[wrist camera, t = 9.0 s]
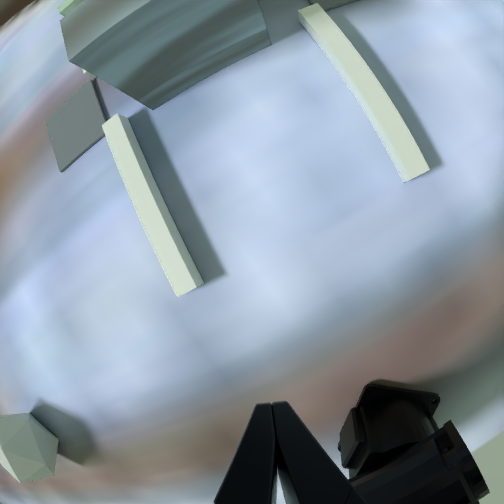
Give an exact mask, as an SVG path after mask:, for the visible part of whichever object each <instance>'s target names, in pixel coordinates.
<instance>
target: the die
mask: <svg viewBox="0 0 504 504" xmlns="http://www.w3.org/2000/svg"><path fill="white" fill-rule="evenodd" d="M58 442H59V439H58V438H57V437H55V436H54V435H53V434H52V433H51V432H50V431H48V430H47V429H46V428H45V427H44V426H43V425H42V424H40V423H39V422H38V421H37V420H36V419H35V418H34V417H33V416H32V415H31V414H30V413H24V414H13V415H0V464H1V465H2V466H3V467H4V468H5V469H6V470H7V471H8V472H9V473H10V474H11V475H12V476H13V477H14V478H16V479H17V480H18V481H19V482H20V483H26V482H30V481H34V480H39V479H43V478H47V477H51V476H54V473H55V464H56V456H57V449H58Z"/></svg>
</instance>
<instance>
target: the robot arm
mask: <svg viewBox="0 0 504 504" xmlns="http://www.w3.org/2000/svg"><path fill="white" fill-rule="evenodd" d="M370 389H373V391H372V392H367V391H368V390H370ZM433 399H435V401H433V402H432V400H433ZM439 402H440V397H439V396H438V394H436V393H428V392H421V391H414V390H407V389H400V388H394V387H388V386H382V385H377V384H367V385H366V386H365V387H364V388H363V391H362V393H361V395H360V398H359V400H358V402H357V405H356V407H354V408H352V409H351V410H350V412H349V414H348V416H347V419H346V421H345V423H344V425H343V427H342V429H341V432H340V441H339V443H338V450H339V451H340V452H341V461H342V466H343V468H346V469H349V480H348V479H347V478H346V477H345V476H344V474H343V473H342V472H341V471H340V469H339V468H338V467H337V466H336V464H335V463H334V462H333V461H332V459H331V458H330V457H329V456H328V454H327V453H326V452H325V450H324V449H323V448H322V447H321V445H320V444H319V443H318V441H317V440H316V439H315V438H314V436H313V435H312V434H311V432H310V431H309V430H308V428H307V427H306V426H305V424H304V423H303V422H302V420H301V419H300V418H299V416H298V415H297V414H296V412H295V411H294V410H293V408H292V407H291V406H290V404H289V403H288V402H287V401H279V402H273V403H272V405H271V403H258V404H256V406H255V408H254V410H253V413H252V415H251V417H250V420H249V422H248V425H247V427H246V429H245V432H244V434H243V437H242V439H241V441H240V444H239V446H238V448H237V451H236V453H235V455H234V458H233V460H232V462H231V464H230V467H229V469H228V471H227V473H226V476H225V478H224V480H223V482H222V484H221V487H220V489H219V491H218V493H217V495H216V497H215V500H214V504H276V495H277V468H278V474H279V478H280V482H281V486H282V490H283V494H284V498H285V501H286V504H480V503H479V501H478V500H479V499H481V498H482V497H484V496H485V495H487V494H488V493H490V492H489V489H488V487H487V485H486V483H485V480H484V479H483V476H482V474H481V472H480V470H479V468H478V466H477V464H476V463H475V461H474V459H473V457H472V455H471V453H470V451H469V450H468V448H467V446H466V444H465V443H464V441H463V439H462V438H461V436H460V434H459V433H458V431H457V429H456V428H455V426H454V425H453V423H452V421H451V420H449V421H448V422H447V423H445V424H444V426H443V427H442V428H440V429H439V428H438V426H437V424H436V422H435V420H434V418H433V414H434V412H435V410H436V408H437V406H438V404H439Z"/></svg>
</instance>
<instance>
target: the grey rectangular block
mask: <svg viewBox="0 0 504 504" xmlns="http://www.w3.org/2000/svg"><path fill="white" fill-rule="evenodd" d="M60 23H61V28H62V33H63V38H64V42H65V47H66V51H67V56H68V60H69V62H71V63H73V64H75V65H77V66H79V67H80V68H82V69H84V70H86V71H87V72H89V73H91V74H93V75H95V76H96V77H98V78H100V79H101V80H103V81H105V82H107V83H108V84H110V85H112V86H114V87H115V88H117V89H119V90H120V91H122V92H124V93H125V94H127V95H129V96H130V97H132V98H134V99H135V100H137V101H139V102H140V103H142V104H143V105H145V106H147V107H148V108H150V109H152V110H154V109H156V108H157V107H159V106H160V105H162V104H163V103H165V102H166V101H168V100H170V99H171V98H173V97H174V96H176V95H178V94H179V93H181V92H183V91H184V90H186V89H188V88H189V87H191V86H193V85H194V84H196V83H198V82H200V81H201V80H203V79H205V78H207V77H209V76H210V75H212V74H214V73H216V72H218V71H220V70H221V69H223V68H225V67H227V66H229V65H231V64H233V63H235V62H237V61H239V60H241V59H243V58H245V57H247V56H249V55H251V54H253V53H255V52H257V51H260V50H262V49H264V48H266V47H268V46H271V42H270V38H269V35H268V31H267V28H266V25H265V21H264V18H263V15H262V11H261V8H260V5H259V2H258V0H84V1H83V2H82V3H80V4H79V5H78V6H77V7H75V8H74V9H73V10H72V11H71V12H69V13H68V14H67V15H66V16H65V17H64V18H62V19H61V20H60Z"/></svg>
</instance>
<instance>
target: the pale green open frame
mask: <svg viewBox="0 0 504 504" xmlns="http://www.w3.org/2000/svg"><path fill="white" fill-rule="evenodd" d="M83 1H84V0H66V1H65V2H64V3H63V4H62V5H60V6H59V7H58V9H59V13H60V14H61V15H63V16H64V17H65V16H66V15H67V14H68V13H69V12H71V11H72V10H73V9H74V8H75V7H77V6H78V5H79V4H80V3H82V2H83ZM298 14H299V21H300V23H301V24H302V25H303V26H304V27H305V29H306V30H307V31H308V32H309V34H310V35H311V36H312V38H313V39H314V40H315V41H316V43H317V44H318V45H319V47H320V48H321V49H322V51H323V52H324V53H325V55H326V56H327V57H328V59H329V60H330V62H331V63H332V64H333V66H334V67H335V69H336V70H337V71H338V73H339V74H340V76H341V77H342V79H343V80H344V82H345V83H346V85H347V86H348V88H349V89H350V91H351V92H352V94H353V95H354V97H355V98H356V100H357V101H358V103H359V104H360V106H361V108H362V109H363V111H364V113H365V114H366V116H367V117H368V119H369V121H370V122H371V124H372V126H373V127H374V129H375V131H376V133H377V134H378V136H379V138H380V140H381V141H382V143H383V145H384V147H385V149H386V150H387V152H388V154H389V156H390V158H391V160H392V161H393V163H394V165H395V167H396V169H397V171H398V173H399V175H400V177H401V179H402V181H403V183H404V182H407V181H409V180H411V179H413V178H415V177H417V176H419V175H421V174H423V173H425V172H427V171H429V170H430V169H429V167H428V165H427V163H426V161H425V159H424V157H423V155H422V153H421V151H420V149H419V147H418V146H417V144H416V142H415V140H414V138H413V136H412V135H411V133H410V131H409V129H408V128H407V126H406V124H405V122H404V121H403V119H402V117H401V116H400V114H399V112H398V111H397V109H396V107H395V106H394V104H393V103H392V101H391V99H390V98H389V96H388V95H387V93H386V92H385V90H384V89H383V87H382V86H381V84H380V83H379V81H378V80H377V78H376V77H375V75H374V74H373V72H372V71H371V70H370V68H369V67H368V65H367V64H366V63H365V61H364V60H363V58H362V57H361V56H360V54H359V53H358V52H357V50H356V49H355V48H354V46H353V45H352V44H351V42H350V41H349V40H348V39H347V37H346V36H345V35H344V34H343V32H342V31H341V30H340V29H339V27H338V26H337V25H336V24H335V23H334V21H333V20H332V19H331V18H330V17H329V16H328V14H327V13H326V12H325V11H324V10H323V9H322V8H321V6H320V5H319V4H318V3H316V4H313V5H310V6H308V7H305V8H302V9H300V10H298ZM83 72H84V74H86V75H87V76H89V77H91V78H93V79H95V78H96V76H95V75H93V74H91V73H89V72H87V71H86V70H84V69H83ZM102 128H103V130H104V133H105V136H106V138H107V141H108V144H109V146H110V149H111V152H112V154H113V157H114V159H115V162H116V164H117V167H118V169H119V172H120V174H121V177H122V179H123V181H124V184H125V186H126V189H127V191H128V193H129V196H130V198H131V200H132V203H133V205H134V207H135V210H136V212H137V214H138V216H139V219H140V221H141V223H142V225H143V227H144V230H145V232H146V234H147V236H148V238H149V241H150V243H151V245H152V247H153V249H154V251H155V253H156V255H157V258H158V260H159V262H160V264H161V266H162V268H163V270H164V272H165V274H166V276H167V278H168V280H169V282H170V284H171V286H172V288H173V290H174V292H175V294H176V296H177V297H178V296H181V295H183V294H185V293H187V292H189V291H191V290H193V289H195V288H197V287H198V286H200V285H202V284H204V282H203V280H202V278H201V276H200V274H199V272H198V270H197V268H196V266H195V264H194V262H193V260H192V258H191V256H190V254H189V252H188V250H187V248H186V246H185V244H184V242H183V240H182V237H181V235H180V233H179V231H178V229H177V227H176V225H175V223H174V221H173V219H172V217H171V214H170V212H169V210H168V208H167V206H166V204H165V202H164V199H163V197H162V195H161V193H160V191H159V189H158V186H157V184H156V182H155V180H154V178H153V175H152V173H151V171H150V169H149V166H148V164H147V162H146V160H145V157H144V155H143V153H142V151H141V148H140V146H139V144H138V141H137V139H136V137H135V134H134V132H133V130H132V127H131V125H130V122H129V120H128V118H127V117H124V116H122V115H120V114H118V113H117V114H115V115H114V116H113V117H112V118H110V119H109V120H108V121H106V122H105V123H104V124H103V125H102Z"/></svg>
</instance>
